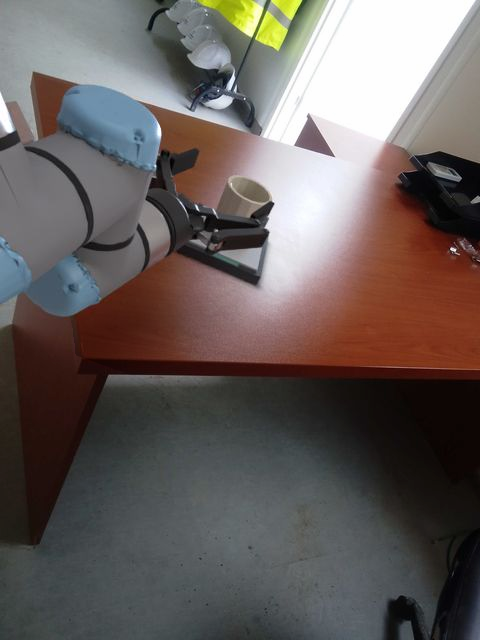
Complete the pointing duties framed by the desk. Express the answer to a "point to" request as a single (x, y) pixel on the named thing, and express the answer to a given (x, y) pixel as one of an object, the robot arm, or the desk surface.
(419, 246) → the desk surface
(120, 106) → the robot arm
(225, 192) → the beige faceted cup
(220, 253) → the kitchen scale
